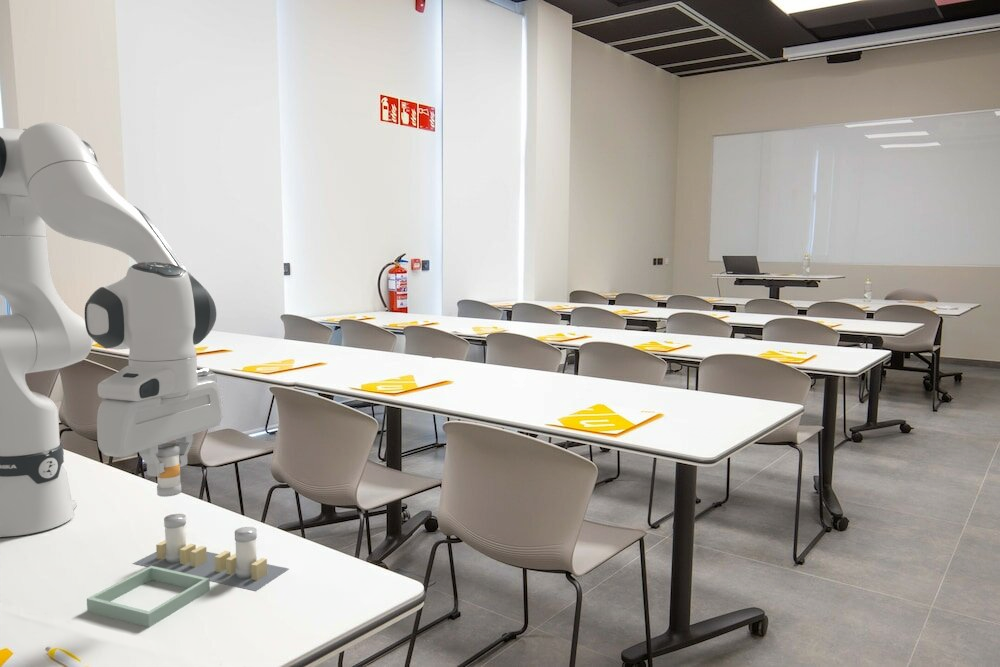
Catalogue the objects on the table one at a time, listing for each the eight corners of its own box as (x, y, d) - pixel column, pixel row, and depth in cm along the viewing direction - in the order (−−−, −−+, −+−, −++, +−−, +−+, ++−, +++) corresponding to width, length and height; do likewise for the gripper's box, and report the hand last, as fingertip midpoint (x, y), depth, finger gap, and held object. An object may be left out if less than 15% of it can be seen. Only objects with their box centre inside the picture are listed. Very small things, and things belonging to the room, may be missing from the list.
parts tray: (87, 619, 100) (86, 598, 100) (151, 584, 111) (151, 565, 110) (149, 635, 96) (148, 614, 96) (210, 597, 107) (209, 578, 106)
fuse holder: (133, 570, 115) (132, 549, 115) (171, 551, 122) (170, 530, 122) (256, 598, 107) (255, 575, 106) (289, 575, 114) (289, 554, 114)
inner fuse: (161, 560, 116) (159, 519, 115) (176, 553, 119) (174, 512, 118) (176, 564, 115) (175, 522, 114) (191, 556, 118) (190, 515, 117)
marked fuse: (152, 495, 104) (150, 447, 103) (169, 488, 107) (167, 442, 106) (169, 497, 103) (167, 450, 102) (186, 490, 106) (184, 444, 105)
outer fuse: (231, 576, 111) (230, 532, 110) (245, 567, 114) (244, 525, 113) (248, 580, 110) (247, 536, 109) (261, 571, 113) (260, 528, 112)
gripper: (198, 364, 114) (201, 449, 115) (86, 387, 94) (91, 489, 96) (231, 367, 112) (234, 453, 113) (123, 391, 92) (128, 495, 94)
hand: (167, 470), depth 105 cm, fingers closed on marked fuse, 3 cm apart
